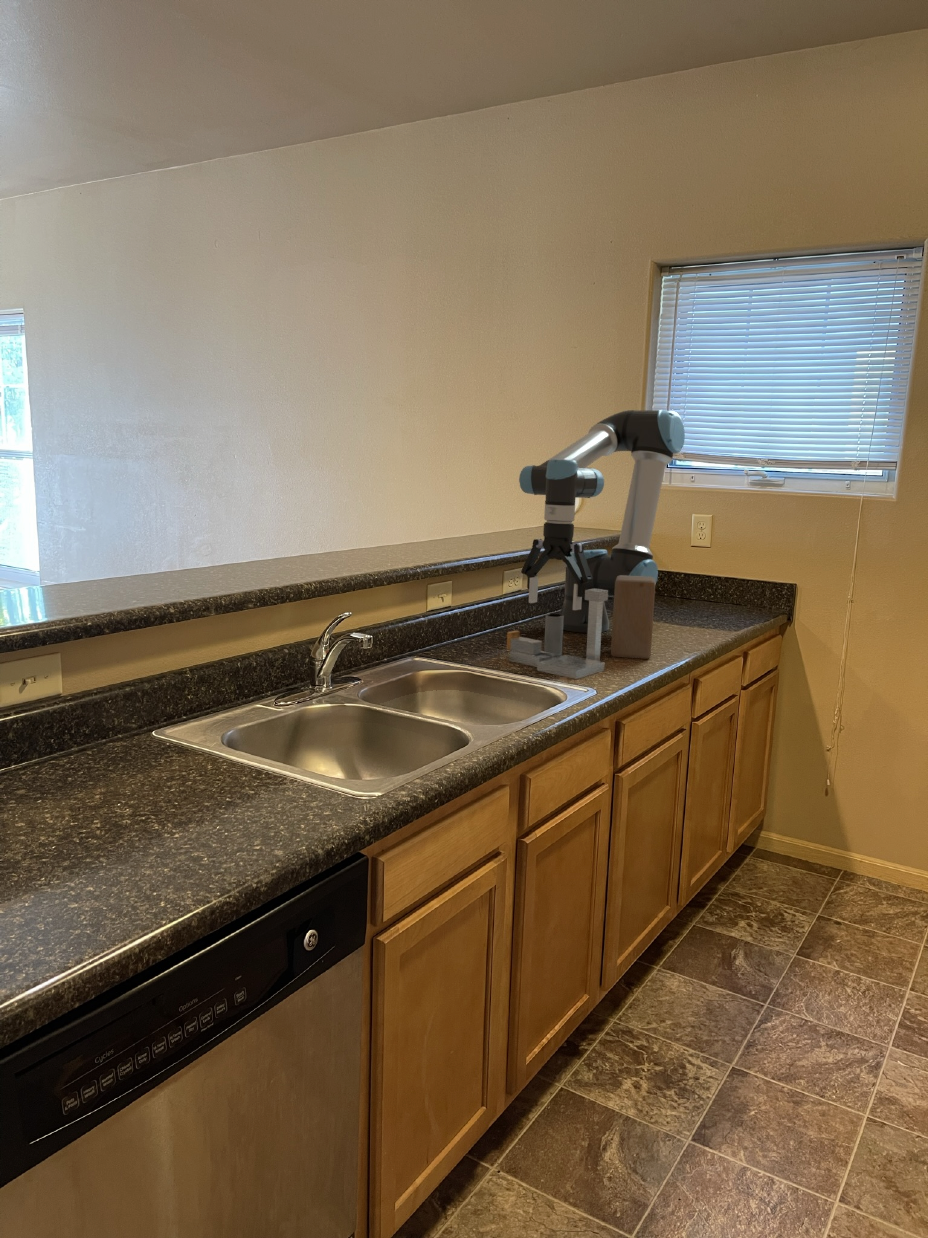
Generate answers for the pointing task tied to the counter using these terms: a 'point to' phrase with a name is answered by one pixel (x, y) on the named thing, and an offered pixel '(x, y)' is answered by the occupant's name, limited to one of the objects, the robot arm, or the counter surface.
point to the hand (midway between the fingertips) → (554, 606)
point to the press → (568, 663)
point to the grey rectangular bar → (523, 644)
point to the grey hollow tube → (554, 633)
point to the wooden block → (633, 616)
